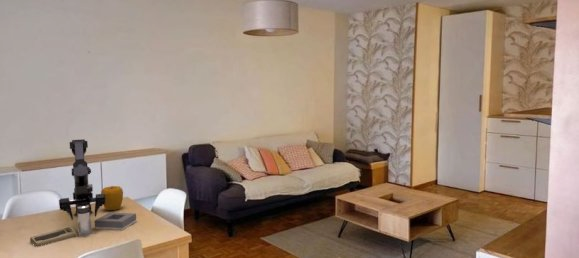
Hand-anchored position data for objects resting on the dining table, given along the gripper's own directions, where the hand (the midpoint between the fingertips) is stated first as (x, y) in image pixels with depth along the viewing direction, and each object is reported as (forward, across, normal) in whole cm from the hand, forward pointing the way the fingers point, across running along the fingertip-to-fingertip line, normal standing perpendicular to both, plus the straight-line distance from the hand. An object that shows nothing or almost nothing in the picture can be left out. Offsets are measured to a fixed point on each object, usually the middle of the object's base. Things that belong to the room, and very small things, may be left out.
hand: (84, 217), depth 182 cm
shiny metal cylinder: (+5, 0, +6) cm, 8 cm away
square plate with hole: (+1, +13, +10) cm, 17 cm away
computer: (+6, -12, +6) cm, 15 cm away
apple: (-19, +14, +30) cm, 38 cm away
